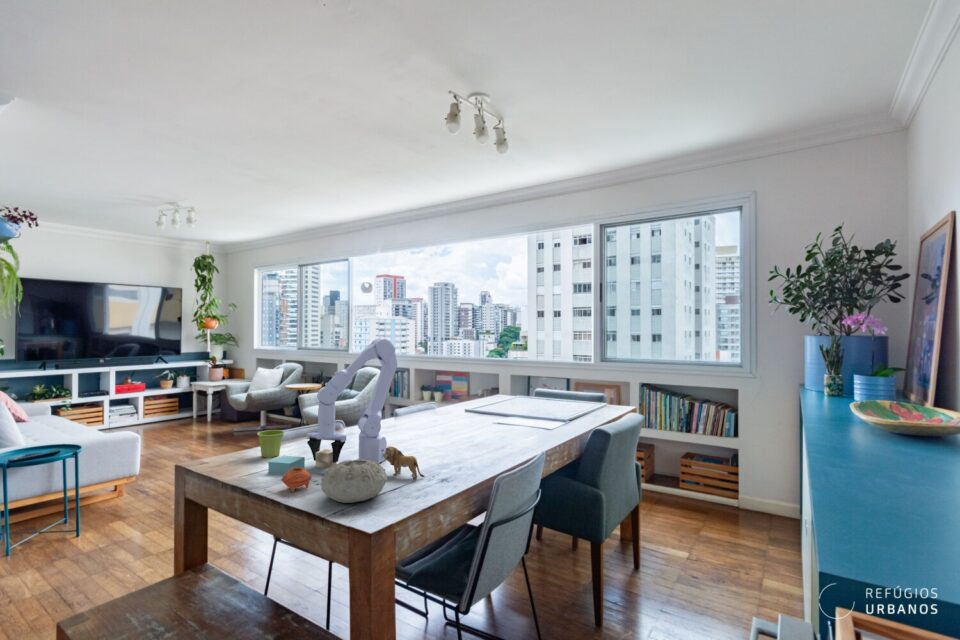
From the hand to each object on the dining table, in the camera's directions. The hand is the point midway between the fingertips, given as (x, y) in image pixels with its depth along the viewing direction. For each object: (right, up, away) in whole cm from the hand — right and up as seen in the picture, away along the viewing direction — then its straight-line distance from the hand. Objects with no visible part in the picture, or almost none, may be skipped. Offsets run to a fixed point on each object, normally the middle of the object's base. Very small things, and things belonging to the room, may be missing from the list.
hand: (326, 460), depth 165 cm
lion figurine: (+29, -2, -11) cm, 31 cm away
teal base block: (-11, -2, -6) cm, 13 cm away
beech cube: (0, -2, 0) cm, 2 cm away
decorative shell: (+18, -1, -31) cm, 36 cm away
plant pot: (-25, -2, +12) cm, 28 cm away
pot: (-1, -1, -25) cm, 25 cm away
